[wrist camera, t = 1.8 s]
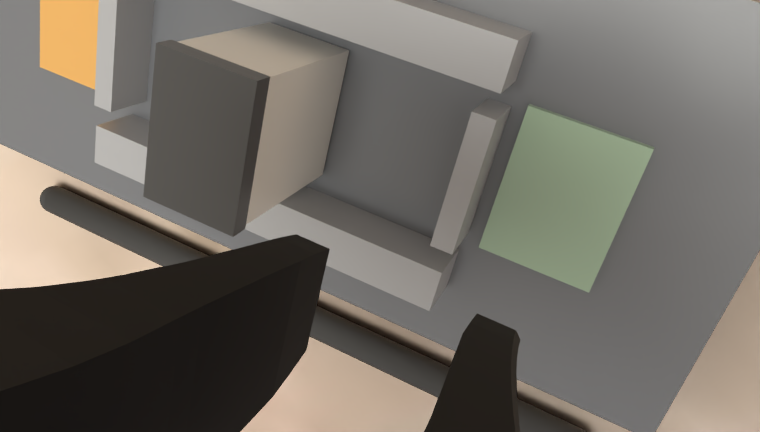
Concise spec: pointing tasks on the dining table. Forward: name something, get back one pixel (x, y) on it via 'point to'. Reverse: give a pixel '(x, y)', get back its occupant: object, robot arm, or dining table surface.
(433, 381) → the dark grey rod
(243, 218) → the grey and beige block
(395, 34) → the breaker panel
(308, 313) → the robot arm
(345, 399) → the dining table surface
